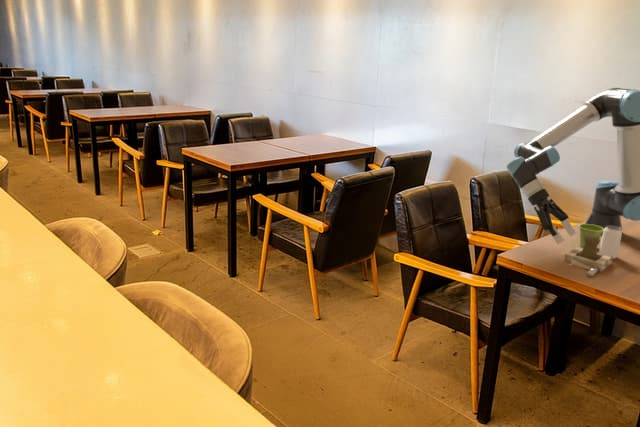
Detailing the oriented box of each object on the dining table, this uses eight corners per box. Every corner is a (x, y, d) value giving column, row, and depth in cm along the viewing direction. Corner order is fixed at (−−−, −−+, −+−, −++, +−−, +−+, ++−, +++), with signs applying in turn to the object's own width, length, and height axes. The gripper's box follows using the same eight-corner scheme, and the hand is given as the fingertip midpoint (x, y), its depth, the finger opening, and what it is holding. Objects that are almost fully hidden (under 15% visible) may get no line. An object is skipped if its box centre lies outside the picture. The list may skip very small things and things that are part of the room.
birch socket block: (575, 254, 213) (577, 246, 212) (611, 263, 204) (612, 256, 203) (563, 262, 204) (565, 254, 203) (600, 272, 195) (601, 265, 194)
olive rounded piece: (575, 260, 206) (580, 233, 202) (586, 259, 208) (592, 232, 205) (587, 266, 200) (593, 239, 197) (599, 265, 202) (605, 237, 199)
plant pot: (585, 251, 216) (589, 231, 213) (570, 243, 225) (574, 223, 222) (605, 251, 218) (609, 230, 215) (589, 242, 227) (593, 223, 224)
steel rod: (595, 268, 199) (596, 263, 198) (600, 270, 197) (601, 265, 197) (585, 276, 192) (586, 270, 191) (591, 277, 190) (592, 272, 190)
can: (618, 260, 208) (625, 231, 205) (600, 258, 209) (607, 229, 206) (613, 254, 214) (619, 225, 211) (596, 252, 216) (602, 224, 212)
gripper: (539, 192, 224) (570, 236, 219) (514, 203, 206) (547, 250, 201) (555, 183, 219) (586, 227, 214) (530, 192, 201) (564, 241, 196)
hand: (567, 238), depth 207 cm, fingers open, 13 cm apart
